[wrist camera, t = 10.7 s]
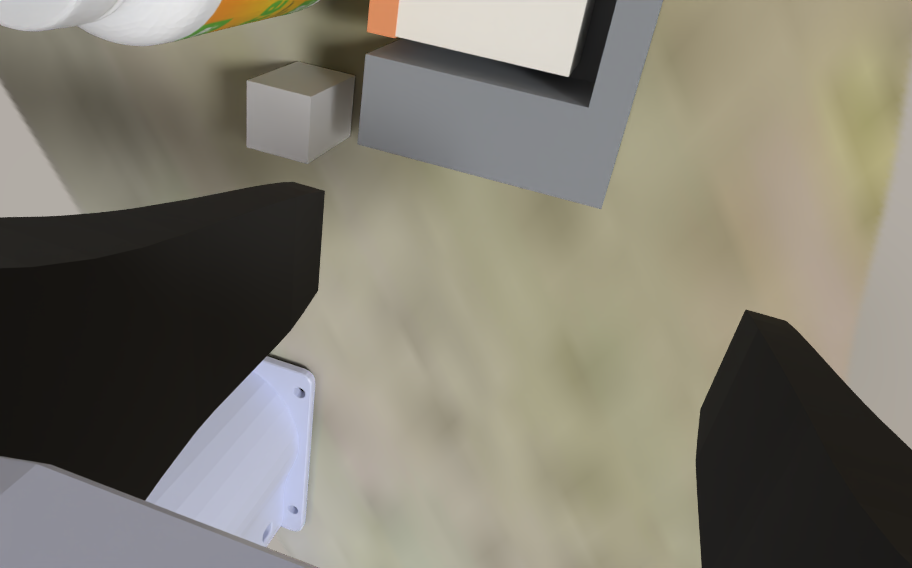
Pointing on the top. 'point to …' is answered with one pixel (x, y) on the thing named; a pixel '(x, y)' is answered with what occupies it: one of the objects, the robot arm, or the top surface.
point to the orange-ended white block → (492, 28)
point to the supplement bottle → (142, 17)
